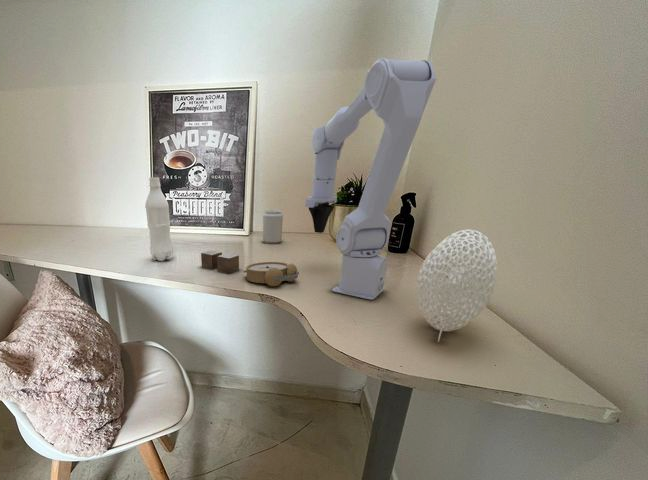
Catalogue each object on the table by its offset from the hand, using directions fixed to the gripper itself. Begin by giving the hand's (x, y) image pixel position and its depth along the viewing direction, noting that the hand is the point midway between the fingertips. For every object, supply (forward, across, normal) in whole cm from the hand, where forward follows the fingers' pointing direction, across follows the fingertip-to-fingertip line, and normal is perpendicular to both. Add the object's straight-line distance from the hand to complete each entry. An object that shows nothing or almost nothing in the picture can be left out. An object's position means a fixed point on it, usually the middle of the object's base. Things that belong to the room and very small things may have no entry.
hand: (319, 232), depth 93 cm
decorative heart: (+11, +23, +36) cm, 44 cm away
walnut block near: (+10, +17, -19) cm, 28 cm away
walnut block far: (+10, +17, -26) cm, 32 cm away
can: (+11, -24, -31) cm, 41 cm away
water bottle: (+11, +20, -45) cm, 50 cm away
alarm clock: (+11, +17, -4) cm, 20 cm away
